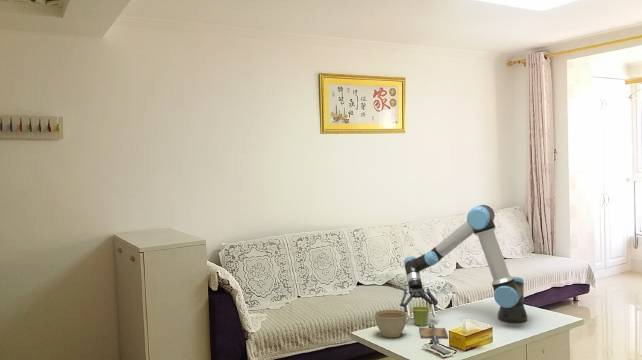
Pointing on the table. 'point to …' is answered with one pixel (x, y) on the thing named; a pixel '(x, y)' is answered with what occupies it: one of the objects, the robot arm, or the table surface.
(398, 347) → the table surface
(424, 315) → the plant pot
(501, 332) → the table surface
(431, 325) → the chain ends
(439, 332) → the pad
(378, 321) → the planter bowl
